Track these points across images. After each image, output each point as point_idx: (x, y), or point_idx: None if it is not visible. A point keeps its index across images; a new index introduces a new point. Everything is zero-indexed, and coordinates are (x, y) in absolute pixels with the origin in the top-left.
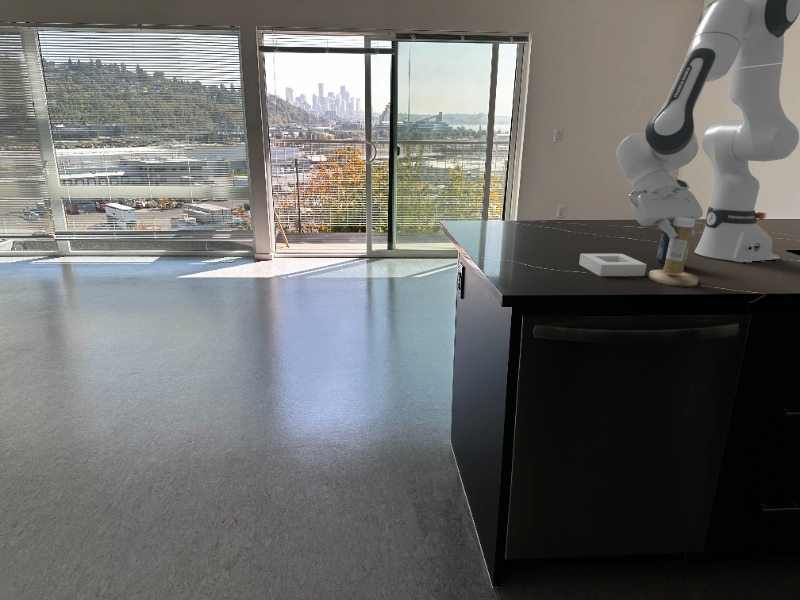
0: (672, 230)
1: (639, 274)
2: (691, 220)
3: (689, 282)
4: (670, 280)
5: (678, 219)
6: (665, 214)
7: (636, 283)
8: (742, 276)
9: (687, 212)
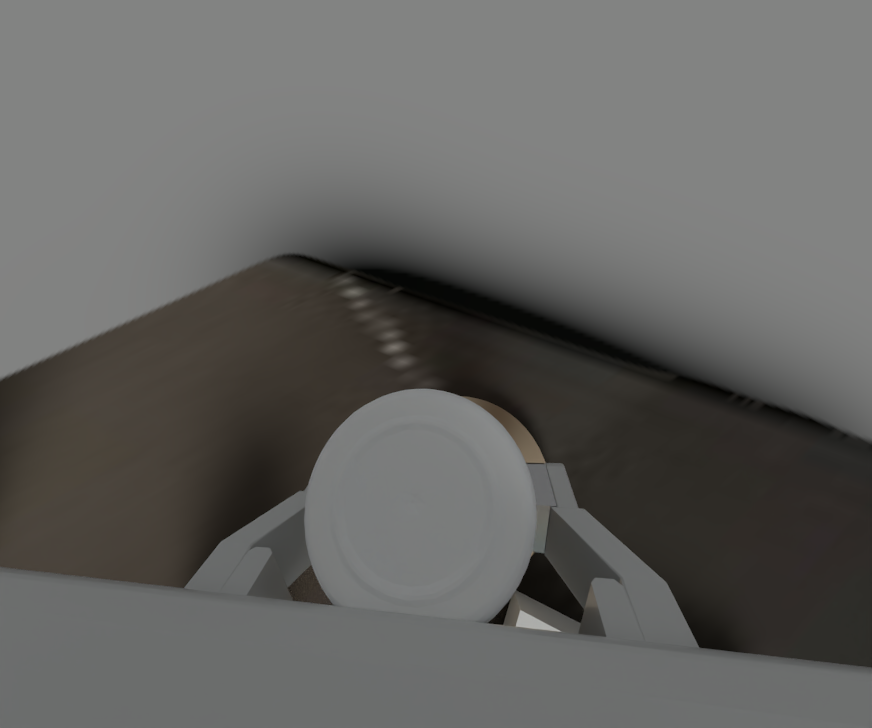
0: (575, 503)
1: (540, 603)
2: (446, 393)
3: (479, 399)
4: (534, 441)
5: (535, 510)
6: (752, 711)
7: (648, 520)
8: (188, 406)
9: (150, 644)
